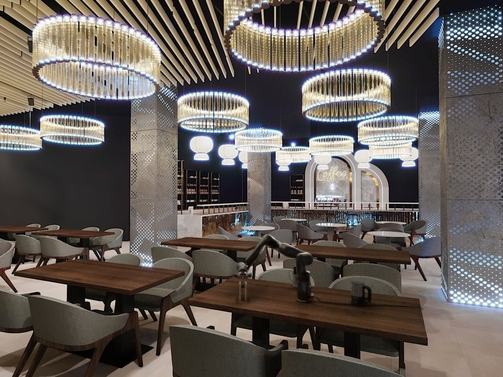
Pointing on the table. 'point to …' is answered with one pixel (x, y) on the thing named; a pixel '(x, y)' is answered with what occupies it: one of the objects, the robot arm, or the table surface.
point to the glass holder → (294, 277)
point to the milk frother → (360, 293)
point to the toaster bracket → (240, 290)
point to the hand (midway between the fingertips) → (243, 277)
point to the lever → (242, 282)
